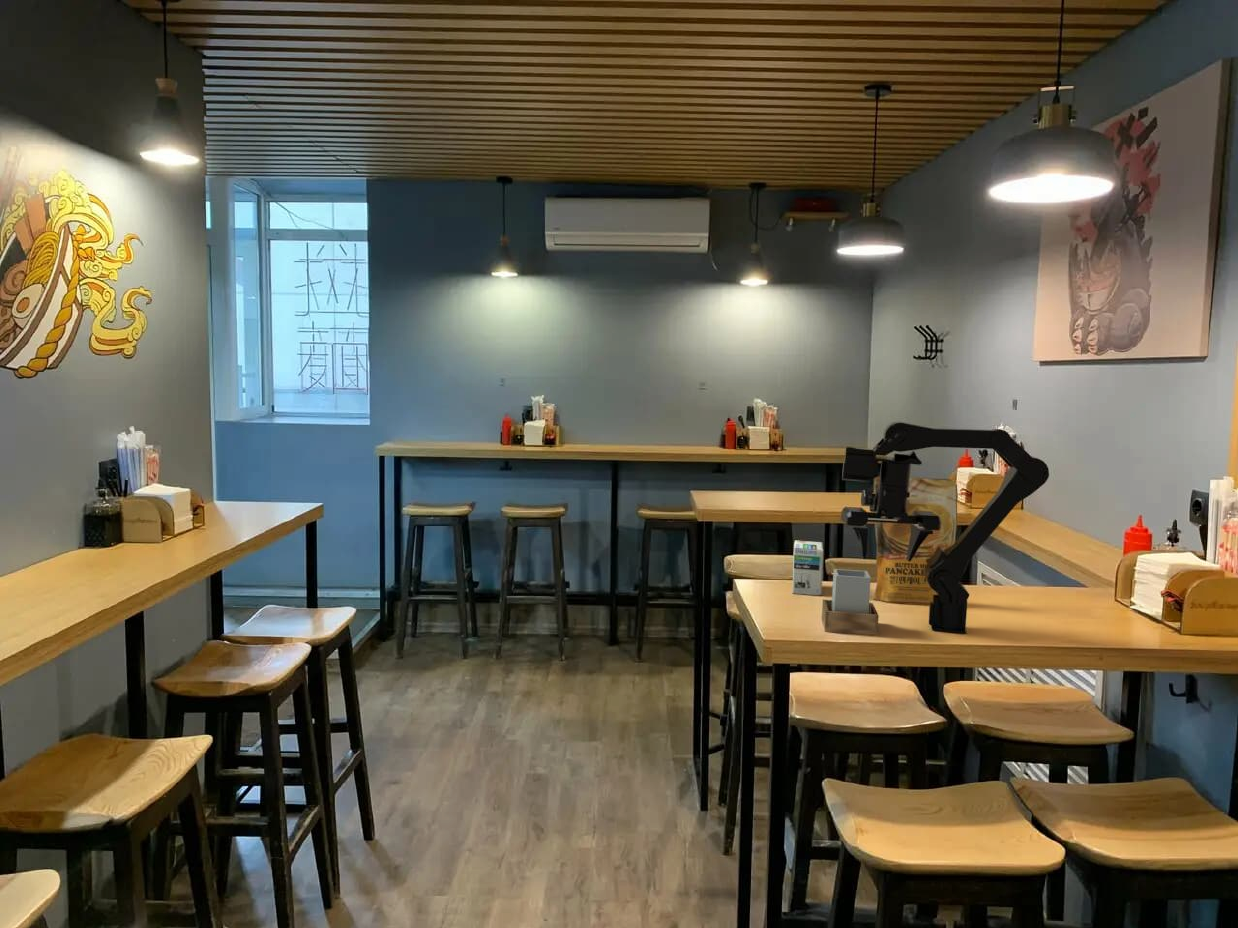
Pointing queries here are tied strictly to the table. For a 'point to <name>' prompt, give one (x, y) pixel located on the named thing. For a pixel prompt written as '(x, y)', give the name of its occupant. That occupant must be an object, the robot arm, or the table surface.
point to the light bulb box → (807, 567)
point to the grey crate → (851, 591)
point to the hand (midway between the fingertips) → (886, 559)
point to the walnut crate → (849, 620)
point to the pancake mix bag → (893, 569)
